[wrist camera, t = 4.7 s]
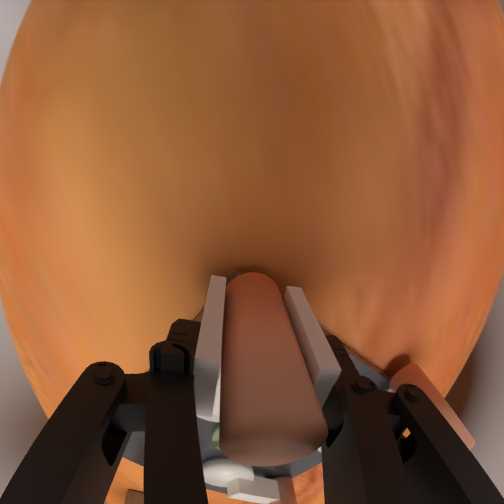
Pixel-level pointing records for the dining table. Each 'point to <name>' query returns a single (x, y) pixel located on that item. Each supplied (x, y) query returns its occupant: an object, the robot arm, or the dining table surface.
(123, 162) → the dining table surface
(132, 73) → the dining table surface
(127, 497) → the wooden block
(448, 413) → the knob
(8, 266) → the dining table surface
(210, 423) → the base plate
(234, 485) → the knob
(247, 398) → the knob
